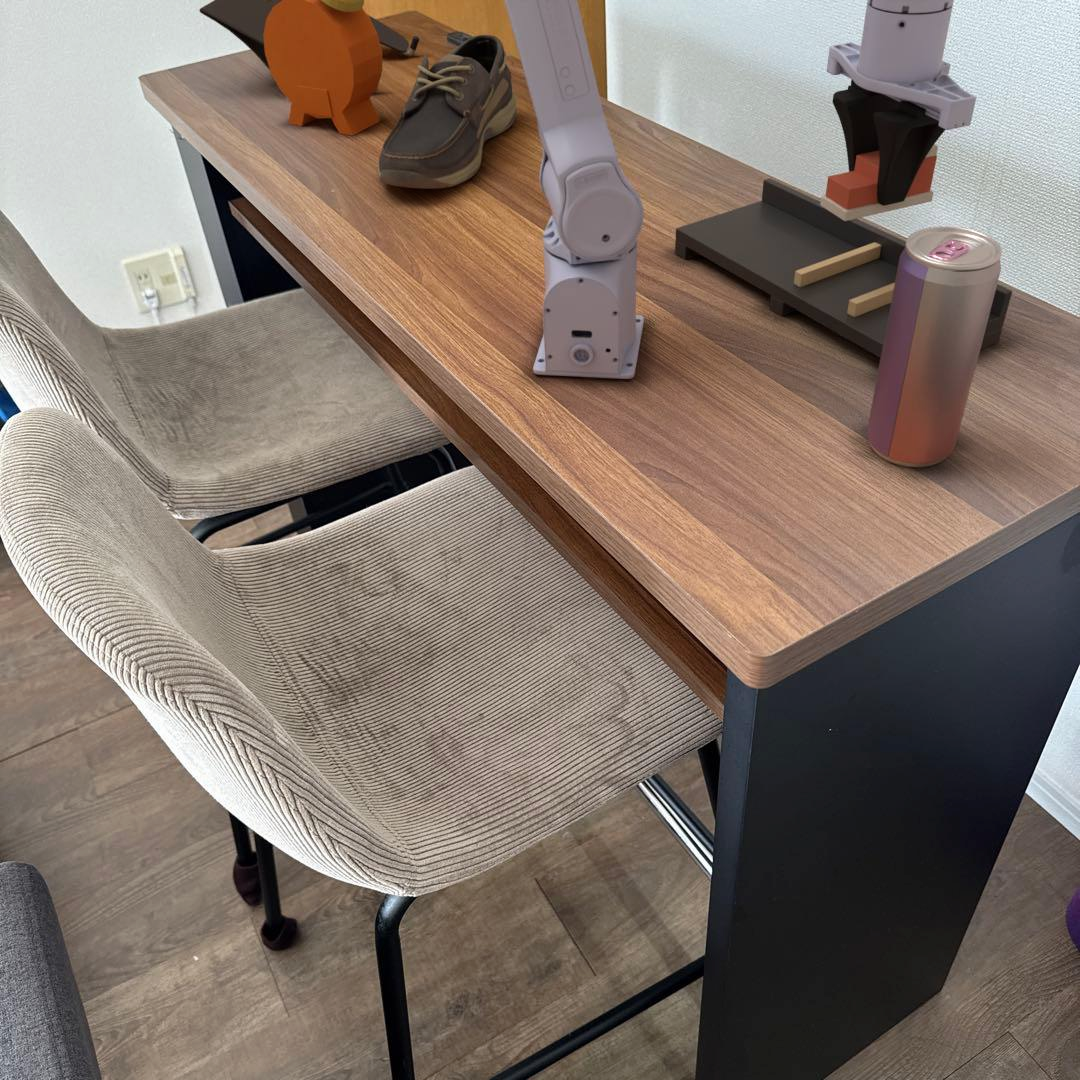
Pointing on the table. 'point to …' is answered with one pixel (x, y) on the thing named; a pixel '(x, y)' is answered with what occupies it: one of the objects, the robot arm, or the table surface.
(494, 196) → the table surface
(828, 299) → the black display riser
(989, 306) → the beverage can
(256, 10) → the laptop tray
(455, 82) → the boat shoe
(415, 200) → the table surface
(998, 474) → the table surface
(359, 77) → the alarm clock
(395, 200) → the table surface
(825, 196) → the stepped block
